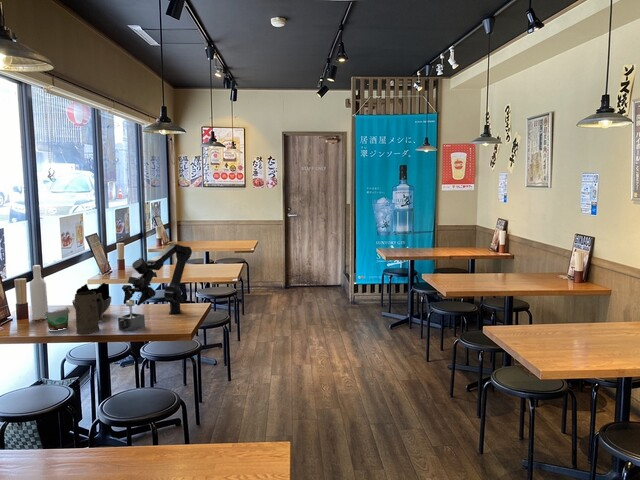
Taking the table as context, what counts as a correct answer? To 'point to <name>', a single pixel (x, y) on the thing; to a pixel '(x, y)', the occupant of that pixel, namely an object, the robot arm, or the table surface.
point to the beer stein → (88, 312)
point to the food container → (57, 319)
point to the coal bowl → (100, 289)
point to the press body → (131, 322)
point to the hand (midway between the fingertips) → (130, 304)
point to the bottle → (38, 294)
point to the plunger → (130, 306)
